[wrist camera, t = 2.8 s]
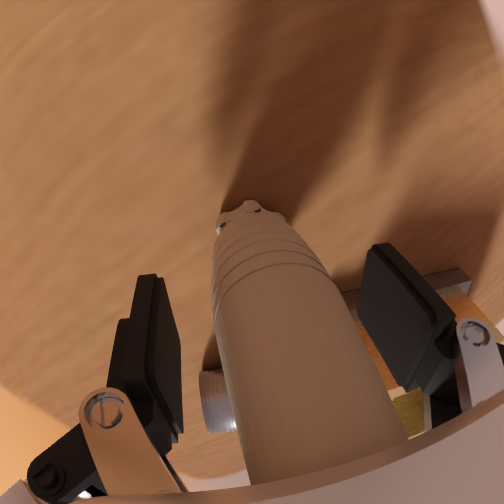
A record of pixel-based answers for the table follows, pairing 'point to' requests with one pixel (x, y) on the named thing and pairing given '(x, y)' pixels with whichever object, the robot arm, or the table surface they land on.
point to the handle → (292, 353)
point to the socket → (406, 404)
